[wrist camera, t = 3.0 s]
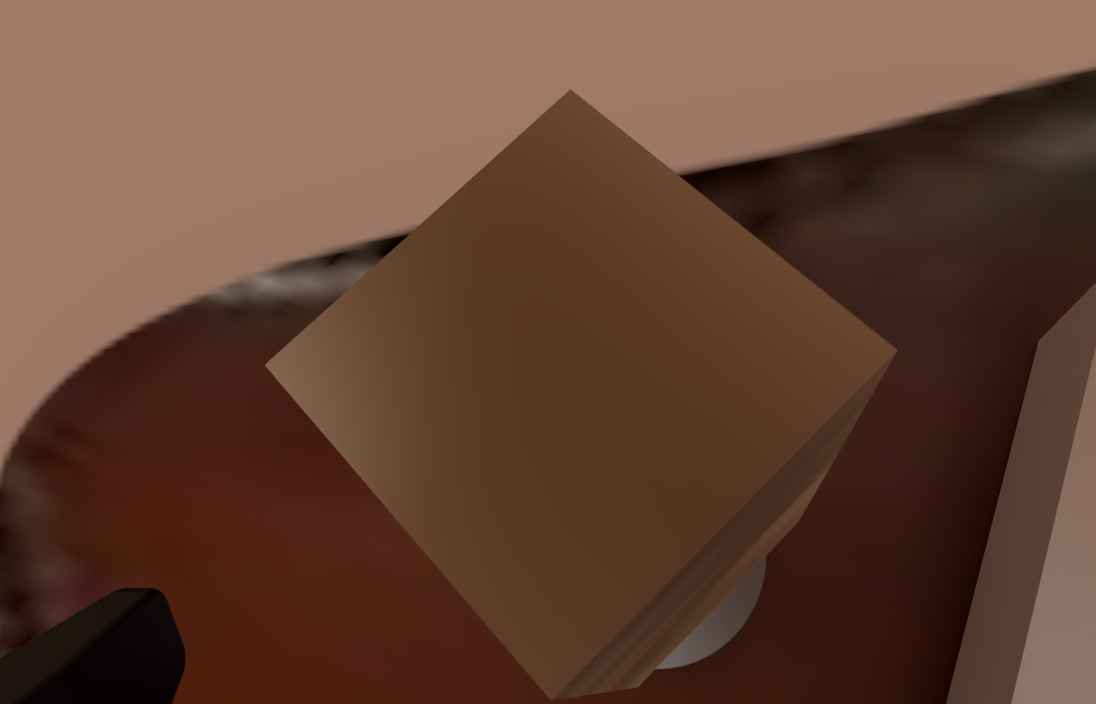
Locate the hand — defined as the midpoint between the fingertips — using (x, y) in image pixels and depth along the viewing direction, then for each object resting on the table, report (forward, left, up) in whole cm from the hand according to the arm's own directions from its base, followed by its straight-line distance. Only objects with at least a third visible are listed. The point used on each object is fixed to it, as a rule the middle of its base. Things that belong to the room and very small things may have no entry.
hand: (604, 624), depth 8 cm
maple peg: (+1, +1, -9) cm, 9 cm away
